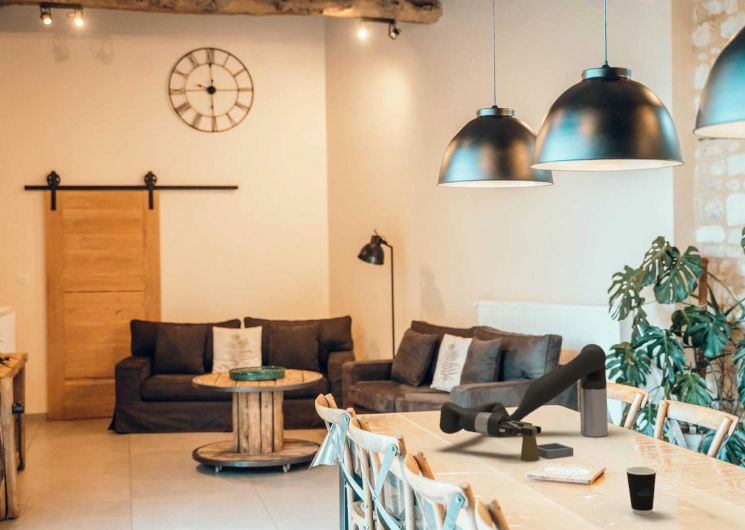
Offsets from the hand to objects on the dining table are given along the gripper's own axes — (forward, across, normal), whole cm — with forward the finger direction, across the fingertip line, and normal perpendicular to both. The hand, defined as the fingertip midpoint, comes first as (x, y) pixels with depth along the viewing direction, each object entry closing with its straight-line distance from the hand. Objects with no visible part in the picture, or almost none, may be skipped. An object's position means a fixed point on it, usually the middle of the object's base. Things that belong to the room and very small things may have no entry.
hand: (536, 431), depth 312 cm
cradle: (+1, -10, -9) cm, 14 cm away
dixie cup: (+52, +41, -8) cm, 67 cm away
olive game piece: (-2, -1, -10) cm, 10 cm away
